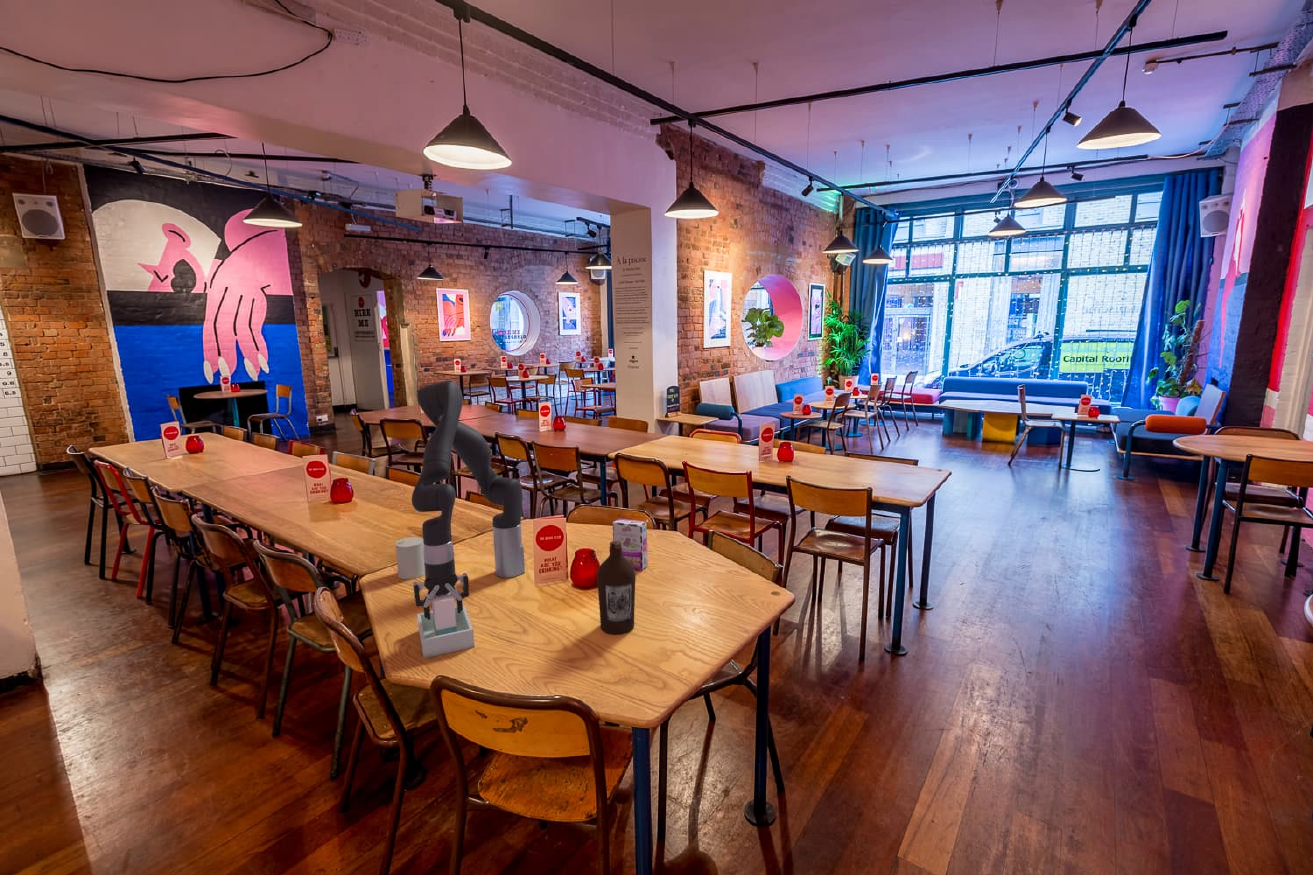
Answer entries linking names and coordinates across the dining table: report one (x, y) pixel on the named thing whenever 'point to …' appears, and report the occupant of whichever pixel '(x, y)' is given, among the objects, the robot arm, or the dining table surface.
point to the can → (410, 557)
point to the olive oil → (616, 592)
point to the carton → (444, 614)
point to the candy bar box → (632, 541)
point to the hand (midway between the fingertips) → (443, 615)
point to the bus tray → (445, 635)
